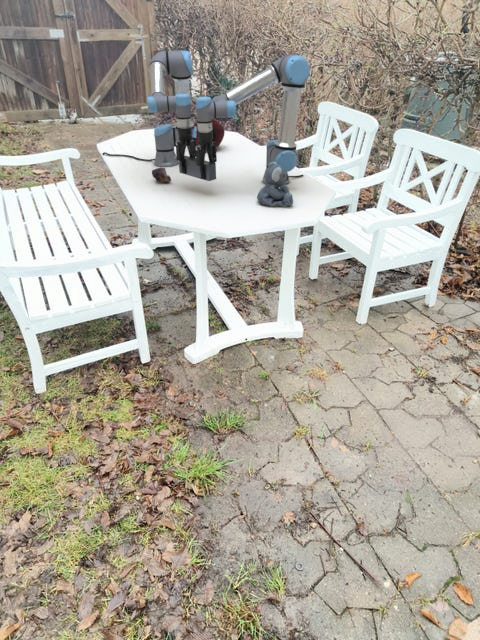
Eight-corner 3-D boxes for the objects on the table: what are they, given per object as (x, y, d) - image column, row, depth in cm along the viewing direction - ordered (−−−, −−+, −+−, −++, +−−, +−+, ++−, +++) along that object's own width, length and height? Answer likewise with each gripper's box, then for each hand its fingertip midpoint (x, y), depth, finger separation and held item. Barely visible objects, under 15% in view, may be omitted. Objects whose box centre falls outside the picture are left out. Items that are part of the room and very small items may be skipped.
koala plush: (294, 207, 227) (296, 168, 215) (258, 208, 226) (259, 169, 214) (288, 196, 241) (290, 158, 230) (255, 197, 240) (255, 159, 229)
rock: (166, 180, 269) (150, 182, 265) (164, 165, 265) (148, 167, 261) (173, 182, 260) (156, 184, 256) (171, 166, 256) (154, 169, 252)
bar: (179, 172, 248) (178, 157, 244) (186, 170, 252) (185, 155, 247) (209, 181, 235) (208, 165, 231) (216, 179, 238) (215, 163, 234)
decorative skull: (189, 124, 329) (187, 120, 305) (221, 116, 328) (220, 113, 305) (196, 154, 336) (194, 153, 312) (227, 147, 335) (227, 145, 311)
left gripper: (176, 131, 227) (179, 177, 240) (202, 125, 238) (204, 169, 251) (166, 128, 231) (170, 174, 244) (192, 123, 242) (195, 167, 255)
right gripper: (196, 135, 218) (199, 183, 231) (223, 129, 229) (224, 175, 242) (186, 133, 222) (189, 180, 235) (212, 127, 233) (214, 172, 246)
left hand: (187, 171), depth 247 cm, fingers closed on bar, 5 cm apart
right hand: (207, 177), depth 239 cm, fingers closed on bar, 5 cm apart
